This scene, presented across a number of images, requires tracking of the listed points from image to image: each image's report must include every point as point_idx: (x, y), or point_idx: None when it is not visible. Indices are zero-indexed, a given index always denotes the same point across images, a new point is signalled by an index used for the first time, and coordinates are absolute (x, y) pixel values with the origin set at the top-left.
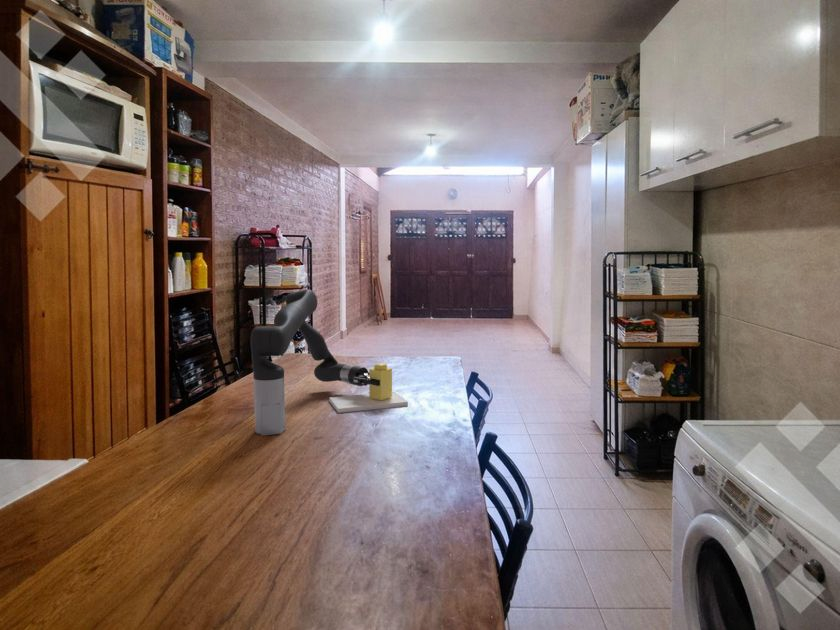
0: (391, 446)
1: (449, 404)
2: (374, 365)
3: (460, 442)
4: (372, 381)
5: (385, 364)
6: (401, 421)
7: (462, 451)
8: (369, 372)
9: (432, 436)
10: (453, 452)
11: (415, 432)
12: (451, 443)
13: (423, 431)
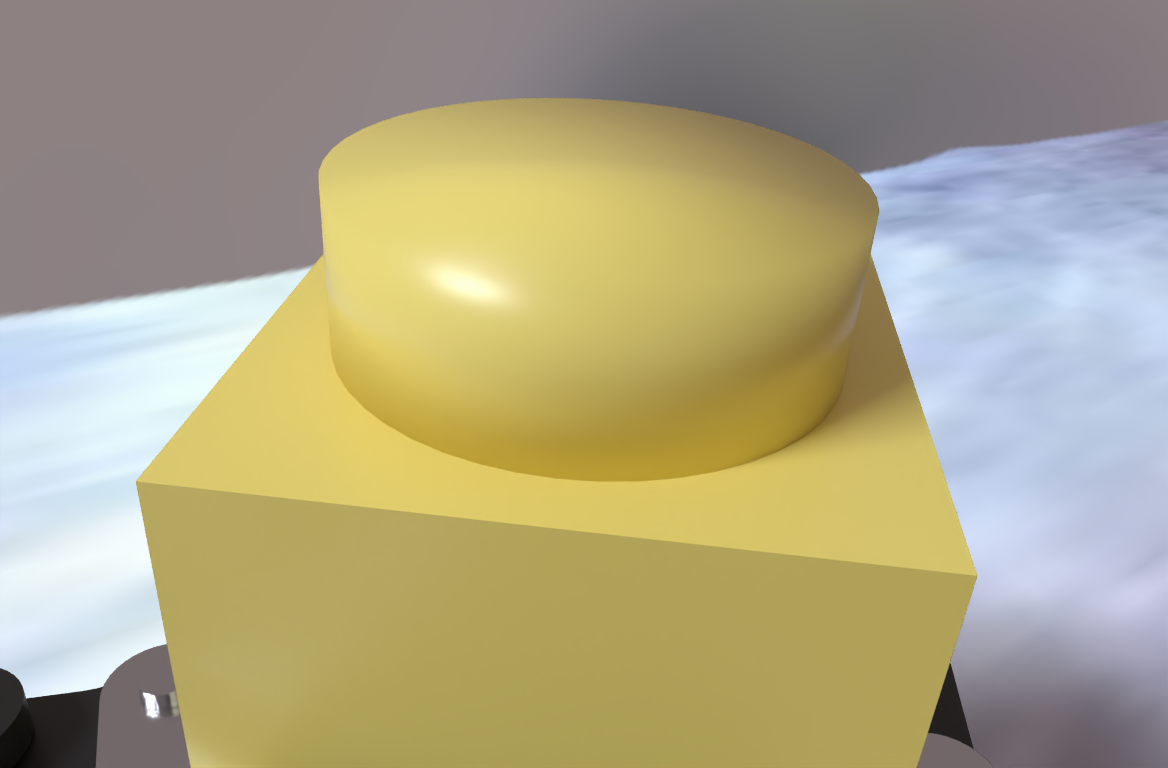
0: None
1: (198, 346)
2: (853, 263)
3: (963, 175)
4: (951, 700)
5: (469, 120)
6: (1005, 434)
7: (1047, 157)
8: (931, 702)
9: (1031, 245)
10: (1095, 169)
11: (1083, 307)
12: (1015, 189)
13: (1016, 287)
